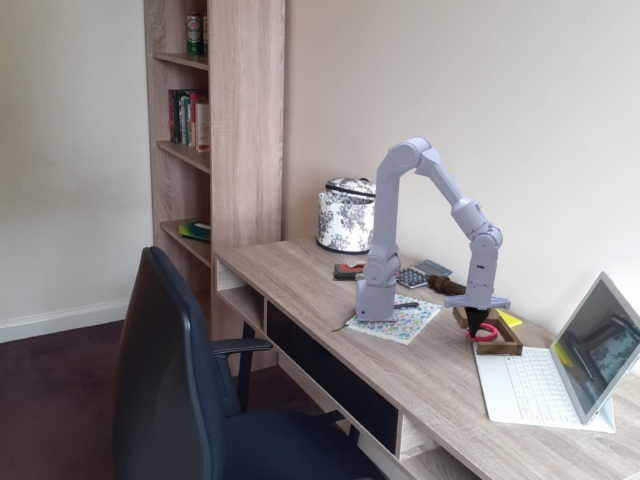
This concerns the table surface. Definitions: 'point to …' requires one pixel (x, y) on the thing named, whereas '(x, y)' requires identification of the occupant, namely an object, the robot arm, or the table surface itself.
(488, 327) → the fitness band
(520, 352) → the notched board
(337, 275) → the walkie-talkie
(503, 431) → the table surface
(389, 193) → the robot arm
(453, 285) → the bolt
